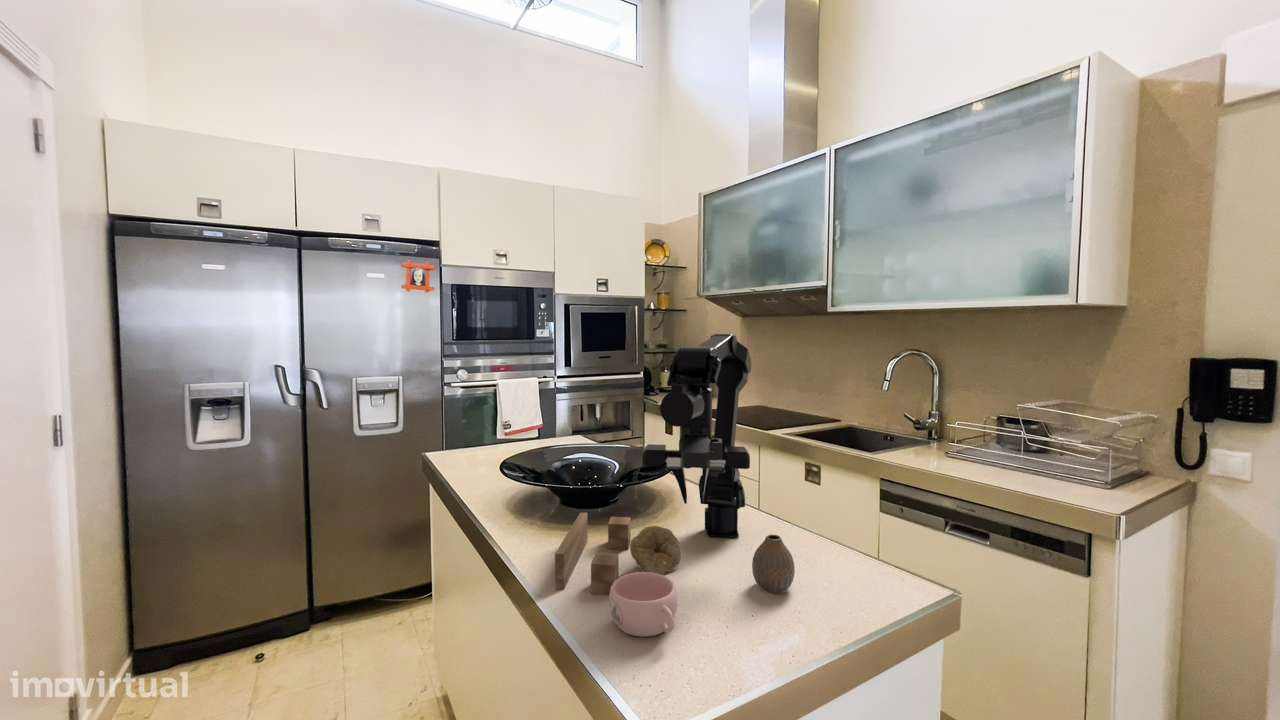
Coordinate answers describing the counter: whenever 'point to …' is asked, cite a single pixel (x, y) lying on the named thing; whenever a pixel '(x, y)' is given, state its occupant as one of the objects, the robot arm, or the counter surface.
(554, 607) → the counter surface
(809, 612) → the counter surface
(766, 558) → the vase
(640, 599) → the mug
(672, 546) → the fossil
